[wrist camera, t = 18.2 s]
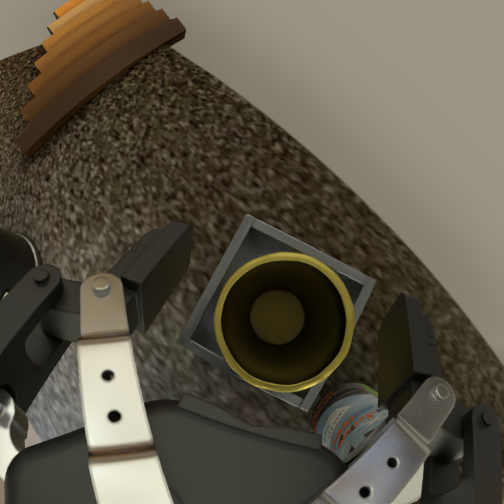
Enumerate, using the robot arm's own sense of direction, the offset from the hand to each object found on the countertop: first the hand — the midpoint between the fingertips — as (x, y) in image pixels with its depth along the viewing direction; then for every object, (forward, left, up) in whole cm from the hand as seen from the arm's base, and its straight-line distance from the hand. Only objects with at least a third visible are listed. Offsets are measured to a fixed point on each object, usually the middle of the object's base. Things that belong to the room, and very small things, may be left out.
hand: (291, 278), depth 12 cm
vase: (+1, -2, -14) cm, 15 cm away
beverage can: (+10, -6, -15) cm, 19 cm away
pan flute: (-44, +4, -12) cm, 46 cm away
